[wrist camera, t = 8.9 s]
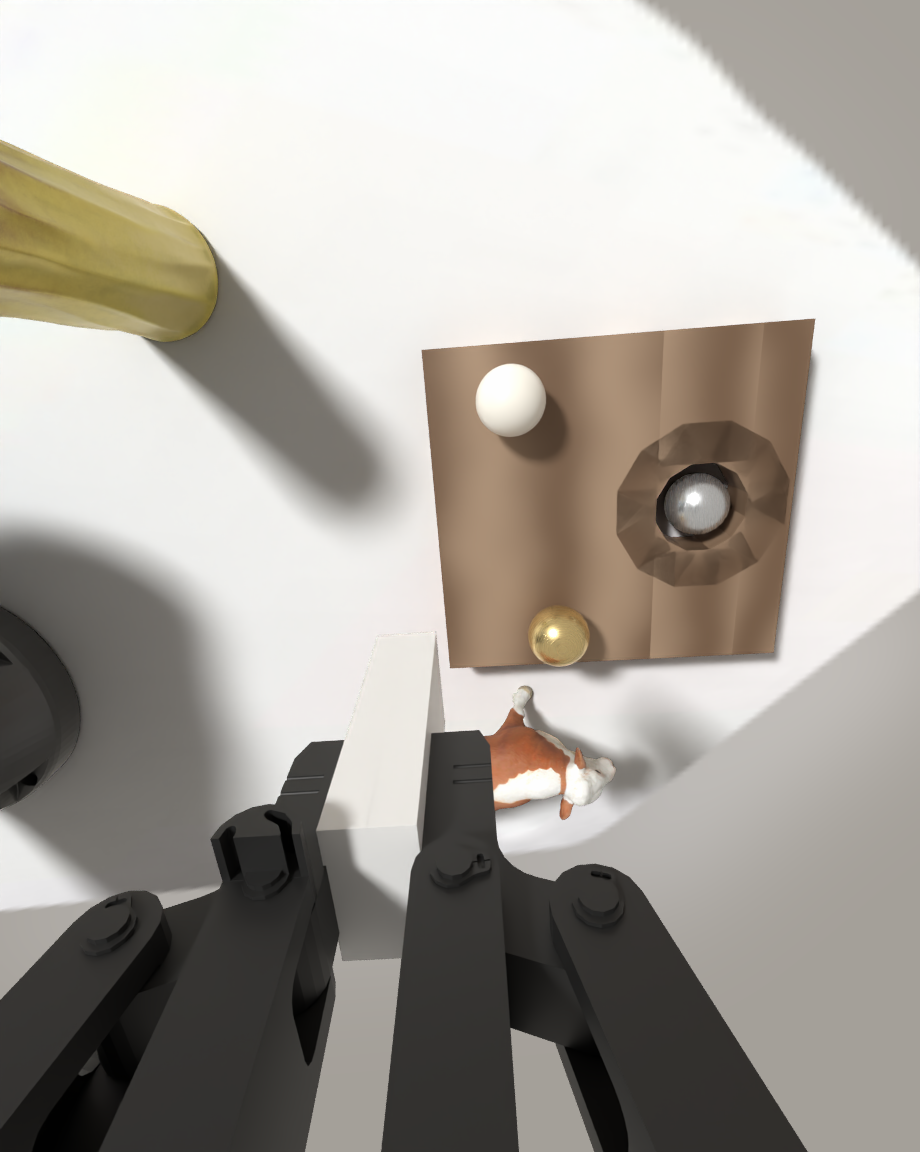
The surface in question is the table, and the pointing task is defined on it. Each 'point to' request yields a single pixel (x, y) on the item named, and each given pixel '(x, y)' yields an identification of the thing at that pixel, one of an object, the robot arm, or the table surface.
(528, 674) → the table surface
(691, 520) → the steel ball
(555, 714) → the table surface
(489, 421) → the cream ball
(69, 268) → the vase
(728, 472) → the board
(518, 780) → the bull figurine
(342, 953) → the robot arm
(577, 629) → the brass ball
